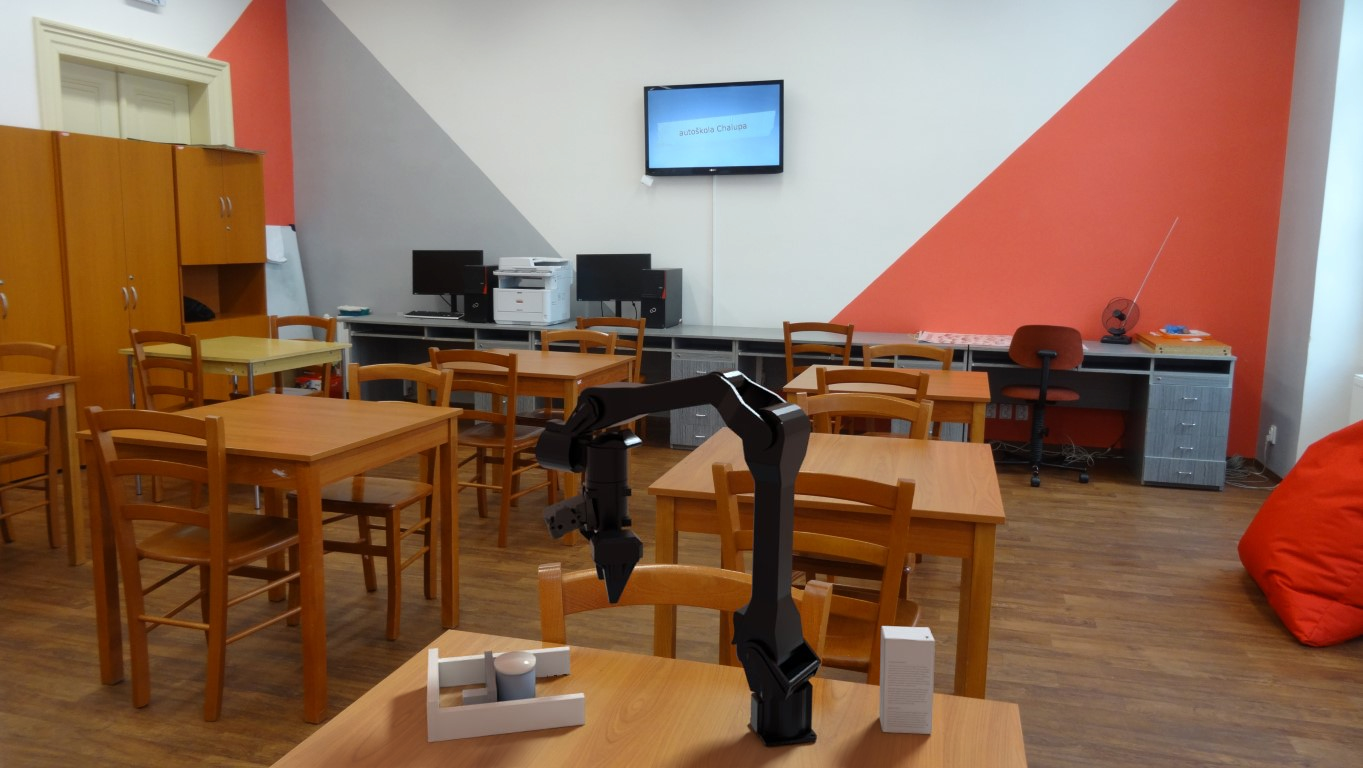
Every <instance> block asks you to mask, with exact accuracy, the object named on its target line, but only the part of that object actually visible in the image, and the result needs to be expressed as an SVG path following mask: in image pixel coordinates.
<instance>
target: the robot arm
mask: <svg viewBox="0 0 1363 768" xmlns="http://www.w3.org/2000/svg"><path fill="white" fill-rule="evenodd" d="M576 403H577V404H576V406H575V407H574V408H573V411H572V412H571V414H570V415H569V417H568V419H567V420H566V421H565V420H562V419H558V418H553V419H550V420H546V421H544V422H545V425H544V426H545V428H544V430H543V431H542V432H541V433H540V435H539V436H538V438H537V442H536V445H535V446H534V456H535V459H536V461H537V463H538V464H539V465H540V467H542V468H544V469H549V470H550V469H551V470H555V471H561V472H567V473H572V474H581V473H582V472H584V473H585V474H584V475H585V476H584V477H585V478H584V481H583V482H582V484H581V485H580V494H578V495H574V496H571V497H568V498H566V499H563V500H561V501H558V502H556V503H553V504H551V505H549V506H547V507H544V508H542V510H541V514H542V516H543V520H544V521H545V524H546V526H547V528H548V531H549V532H548V533H549V534H550V536H551V539H553V540H557V539H561V538H563V537H564V536H565V535H566V534H568V533H571V532H573V531H575V530H578V531H579V534H580V535H582V536H583V537H584V538H585V539H586V540H587V541H588V542H589V546H590V547H589V548H590V556H591V559H592V561H593V562H594V566H595V572H596V575H597V580H599V581H604V583H605V589H606V593H607V594H606V595H607V599H608V603H609V604H611V605H613V604H618V602H619V601H620V599H621V596H622V594H623V592H624V590H625V588H626V586H627V583H628V581H629V579H630V577H631V576H632V573H633V571H634V570H635V567H636V565H638V563H639V562H640V560H641V559H642V558H644V543H643V541H642V540H641V538H640V536H639V535H638V534H637V533H636V532H634V531H633V530H632V529H631V528H630V527H632V524H633V523H632V518H631V516H630V515H629V497H632V487H631V486H630V485H629V450H631V449H634V448H638V447H642V445H643V441H642V439H640V438H639V437H638V436H637V435H636V434H635V433H634V432H633V430H632V429H631V428H629V427H628V428H625V429H620V430H618V432H615V431H614V432H613V431H602V430H606V429H607V430H608V429H610V428H613V427H614V428H615V427H617V426H621V425H627V424H629V423H631V422H634V421H636V420H638V419H641V418H643V417H646V416H648V415H650V414H654V413H661V412H668V411H674V410H680V409H685V408H686V409H687V408H692V407H694V408H695V407H699V406H705V405H707V406H708V405H711V406H712V407H714V408H715V409H716V410H717V412H718V413H719V415H720V417H721V418H722V420H723V422H724V423H725V425H726V427H727V428H728V429H729V430H730V431H732V432H733V433H734V434H735V435H736V436H737V437H739V438H740V439H741V443H742V445H741V446H742V450H743V458H744V459H743V460H744V462H745V464H746V466H747V469H748V471H749V473H750V474H751V476H752V479H753V484H754V485H753V487H754V489H753V491H754V492H753V522H752V523H753V524H752V525H753V527H752V557H751V559H752V561H751V565H752V566H751V595H750V600H749V602H747V603H746V604H745V605H743V606H741V607H739V608H738V609H736V610H735V611H733V615H732V616H733V617H732V621H733V622H732V623H733V624H732V625H733V637H732V639H731V642H730V643H731V645H732V646H735V652H736V653H735V654H736V657H737V660H738V662H739V663H741V664H742V668H743V671H744V674H745V677H746V681H747V685H748V689H749V690H750V692H752V693H751V694H750V718H749V723H750V726H751V727H752V728H753V730H754V732H755V733H756V734H757V735H758V737H759V738H760V740H761V741H762V743H763V744H764V745H765V746H766V747H776V746H777V747H778V746H782V745H791V744H799V743H806V742H814V741H817V740H818V735H817V732H815V731H814V729H813V697H814V696H813V695H814V694H813V692H814V689H813V688H814V685H813V684H812V682H811V681H810V679H812V678H813V677H816V675H818V672H819V670H820V667H821V665H822V660H821V658H820V657H819V656H818V655H817V653H816V652H815V651H814V649H813V648H812V646H811V645H810V644H809V643H808V641H807V640H806V638H805V637H804V634H803V624H802V618H801V616H802V615H801V613H800V611H799V609H798V607H797V605H796V603H795V600H794V599H793V596H792V595H793V594H792V583H793V582H792V581H793V580H792V579H793V551H794V545H793V544H794V525H795V524H794V523H795V522H794V520H795V517H794V516H795V490H796V479H797V476H798V474H799V472H800V470H801V467H802V465H803V463H804V461H805V458H806V455H807V452H808V446H809V443H810V442H809V441H810V438H811V437H810V436H811V430H812V425H811V419H810V417H809V416H810V415H808V414H807V413H806V412H805V411H804V410H803V409H802V407H800V406H799V405H797V404H796V403H792V402H790V401H789V402H787V401H786V400H785V399H783V398H782V397H781V396H780V395H779V394H777V393H775V392H774V391H772V390H769V389H768V388H766V387H764V386H762V385H760V384H758V383H757V382H756V381H752V379H750V378H748V377H747V375H745V374H744V373H742V371H739V370H737V369H736V368H733V367H732V368H724V369H723V368H722V369H720V370H713V371H711V372H709V373H706V374H701V375H696V376H691V377H690V376H689V377H685V378H684V377H683V378H679V379H674V380H669V381H663V382H657V383H652V384H651V383H650V384H646V383H639V382H630V381H629V382H626V381H615V382H610V383H609V382H608V383H605V384H603V383H602V384H600V385H595V386H594V385H593V386H588V387H585V388H583V389H582V390H580V392H579V396H578V398H577V402H576ZM597 431H598V432H599V431H601V432H599V433H598V434H597V435H594V432H597ZM626 527H627V528H628V527H629V528H628V529H623V528H626Z"/></svg>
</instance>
